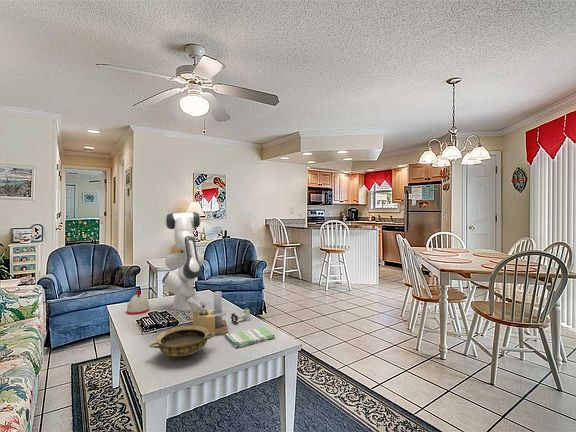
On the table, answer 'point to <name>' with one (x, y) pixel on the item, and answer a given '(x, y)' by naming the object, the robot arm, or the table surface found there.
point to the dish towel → (248, 337)
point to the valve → (241, 316)
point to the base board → (216, 329)
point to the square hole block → (211, 315)
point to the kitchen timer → (137, 304)
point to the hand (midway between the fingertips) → (204, 309)
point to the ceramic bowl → (182, 340)
